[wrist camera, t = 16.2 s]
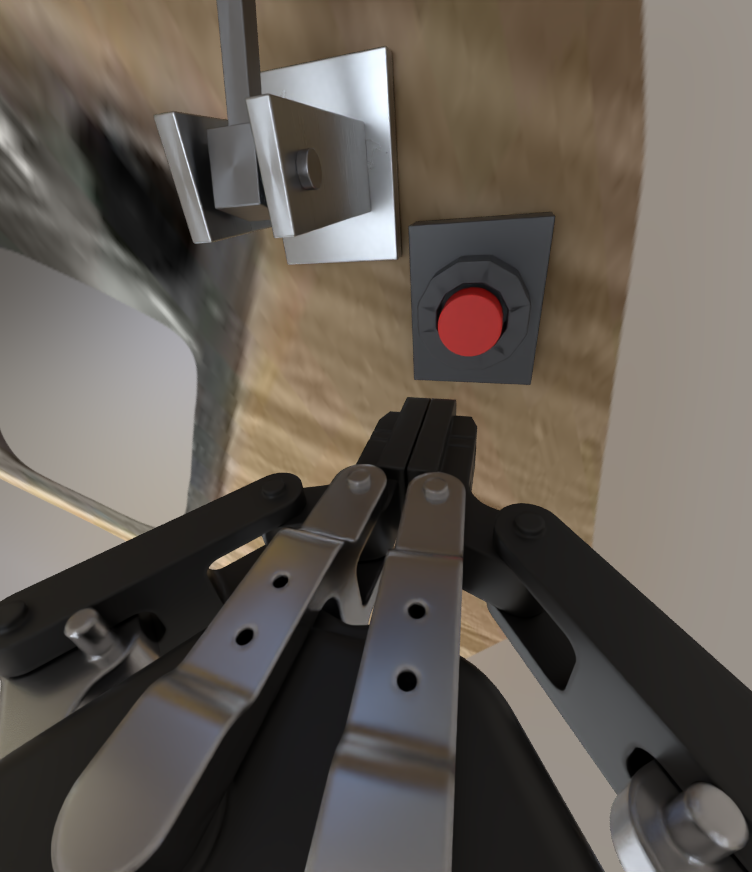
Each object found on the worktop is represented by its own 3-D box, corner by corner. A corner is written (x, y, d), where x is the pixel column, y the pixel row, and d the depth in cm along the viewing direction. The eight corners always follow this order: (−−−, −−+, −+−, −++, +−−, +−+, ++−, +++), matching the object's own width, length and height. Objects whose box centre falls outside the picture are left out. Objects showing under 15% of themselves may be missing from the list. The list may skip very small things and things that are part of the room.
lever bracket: (260, 77, 23) (84, 16, 13) (392, 50, 20) (291, -45, 11) (294, 261, 28) (187, 308, 19) (401, 256, 26) (339, 307, 17)
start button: (442, 287, 23) (437, 295, 21) (505, 285, 22) (505, 293, 20) (441, 345, 25) (437, 356, 23) (500, 346, 24) (499, 357, 22)
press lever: (181, -123, 15) (127, -198, 13) (309, -174, 14) (272, -268, 11) (218, 224, 19) (181, 211, 16) (323, 215, 17) (297, 200, 15)
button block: (415, 221, 25) (401, 229, 21) (552, 211, 22) (558, 219, 19) (419, 367, 30) (408, 391, 27) (529, 371, 28) (531, 397, 25)
